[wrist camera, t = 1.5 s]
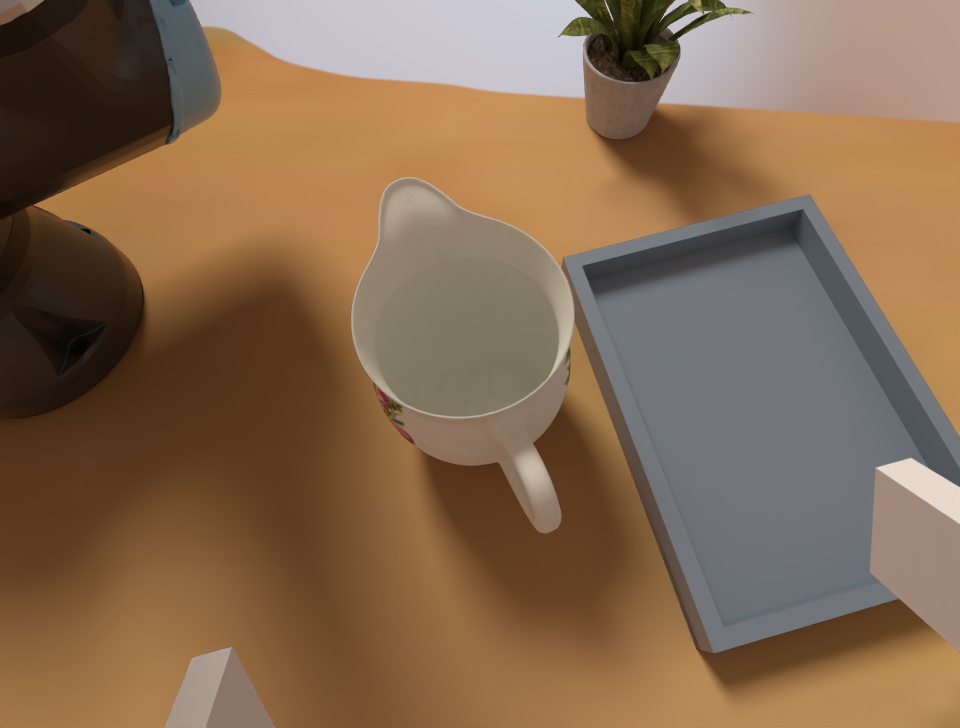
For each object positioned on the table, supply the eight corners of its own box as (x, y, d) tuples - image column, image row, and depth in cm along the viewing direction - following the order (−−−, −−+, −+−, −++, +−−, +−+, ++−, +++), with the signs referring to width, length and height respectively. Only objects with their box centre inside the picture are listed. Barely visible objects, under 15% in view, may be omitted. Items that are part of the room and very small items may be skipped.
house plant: (746, 168, 44) (866, -53, 29) (578, 213, 44) (613, 10, 29) (673, 46, 50) (742, -192, 35) (523, 85, 49) (527, -143, 34)
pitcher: (462, 583, 34) (432, 573, 21) (363, 337, 41) (294, 218, 28) (624, 505, 35) (687, 453, 22) (501, 279, 42) (497, 140, 29)
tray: (559, 280, 41) (563, 257, 39) (790, 220, 42) (809, 194, 40) (696, 648, 32) (714, 653, 29) (990, 561, 33) (1034, 558, 30)
